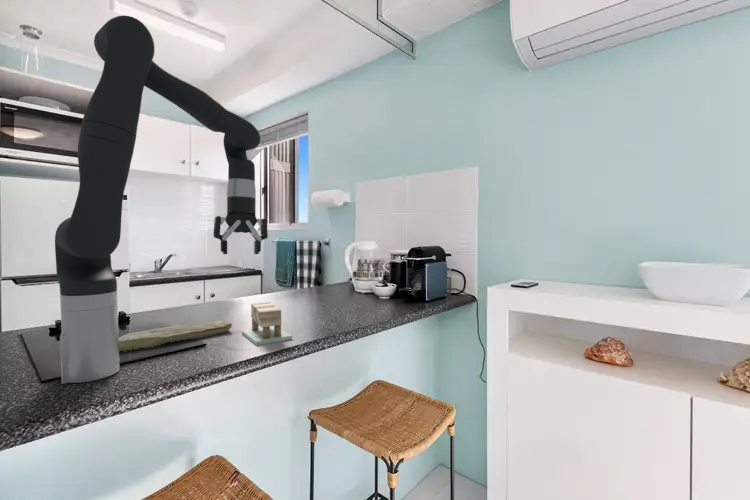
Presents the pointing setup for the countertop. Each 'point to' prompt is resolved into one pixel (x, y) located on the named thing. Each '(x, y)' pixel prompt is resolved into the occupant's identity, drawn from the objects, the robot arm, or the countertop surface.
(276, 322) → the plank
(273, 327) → the peg stand
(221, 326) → the stone slab
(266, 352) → the countertop surface
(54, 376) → the countertop surface
